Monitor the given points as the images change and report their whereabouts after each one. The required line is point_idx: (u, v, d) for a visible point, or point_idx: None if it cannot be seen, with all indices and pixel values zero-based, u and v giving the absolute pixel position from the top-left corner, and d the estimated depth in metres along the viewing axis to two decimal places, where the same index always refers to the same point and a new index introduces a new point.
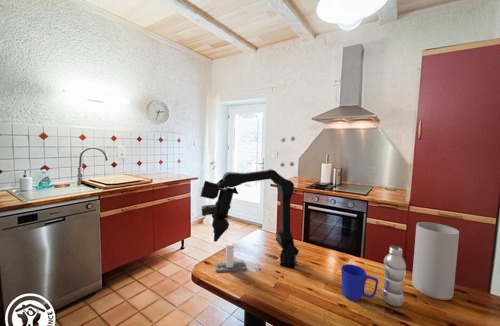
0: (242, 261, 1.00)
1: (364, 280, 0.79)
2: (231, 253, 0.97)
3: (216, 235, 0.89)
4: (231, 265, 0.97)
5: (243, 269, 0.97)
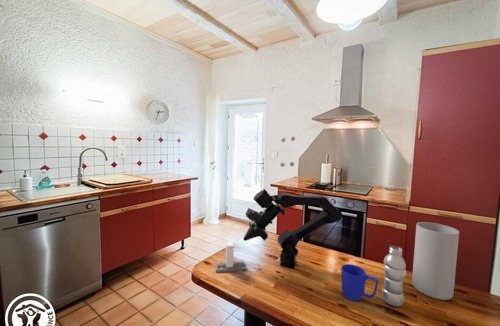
0: (242, 261, 1.00)
1: (364, 280, 0.79)
2: (231, 253, 0.97)
3: (249, 236, 0.99)
4: (231, 265, 0.97)
5: (243, 269, 0.97)
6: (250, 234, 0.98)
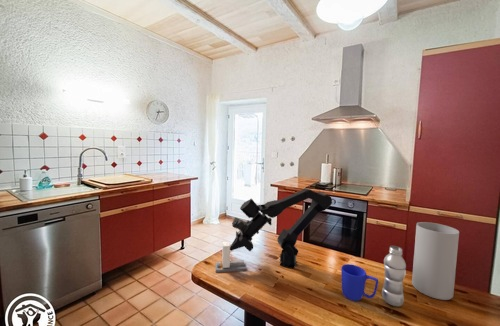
0: (242, 261, 1.00)
1: (364, 280, 0.79)
2: (227, 253, 0.96)
3: (235, 245, 0.98)
4: (228, 265, 0.97)
5: (243, 269, 0.97)
6: (236, 244, 0.98)
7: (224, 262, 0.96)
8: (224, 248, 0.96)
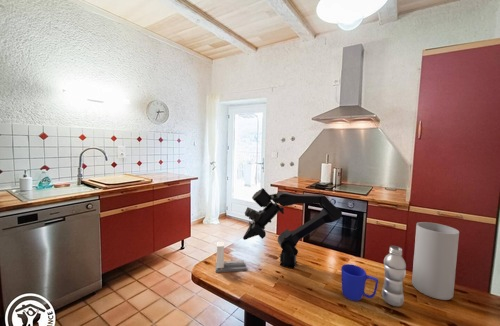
0: (242, 261, 1.00)
1: (364, 280, 0.79)
2: (222, 253, 0.96)
3: (248, 234, 0.99)
4: (222, 265, 0.96)
5: (243, 269, 0.97)
6: (249, 233, 0.99)
7: (218, 262, 0.96)
8: (218, 248, 0.96)
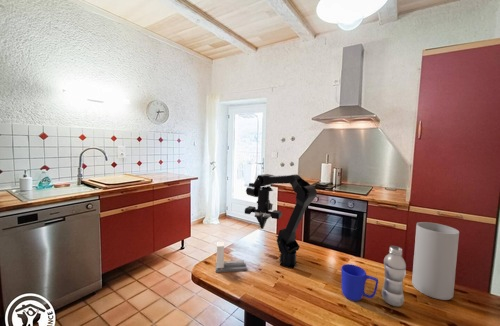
0: (242, 261, 1.00)
1: (364, 280, 0.79)
2: (222, 253, 0.96)
3: None
4: (222, 265, 0.96)
5: (243, 269, 0.97)
6: None
7: (218, 262, 0.96)
8: (218, 248, 0.96)
